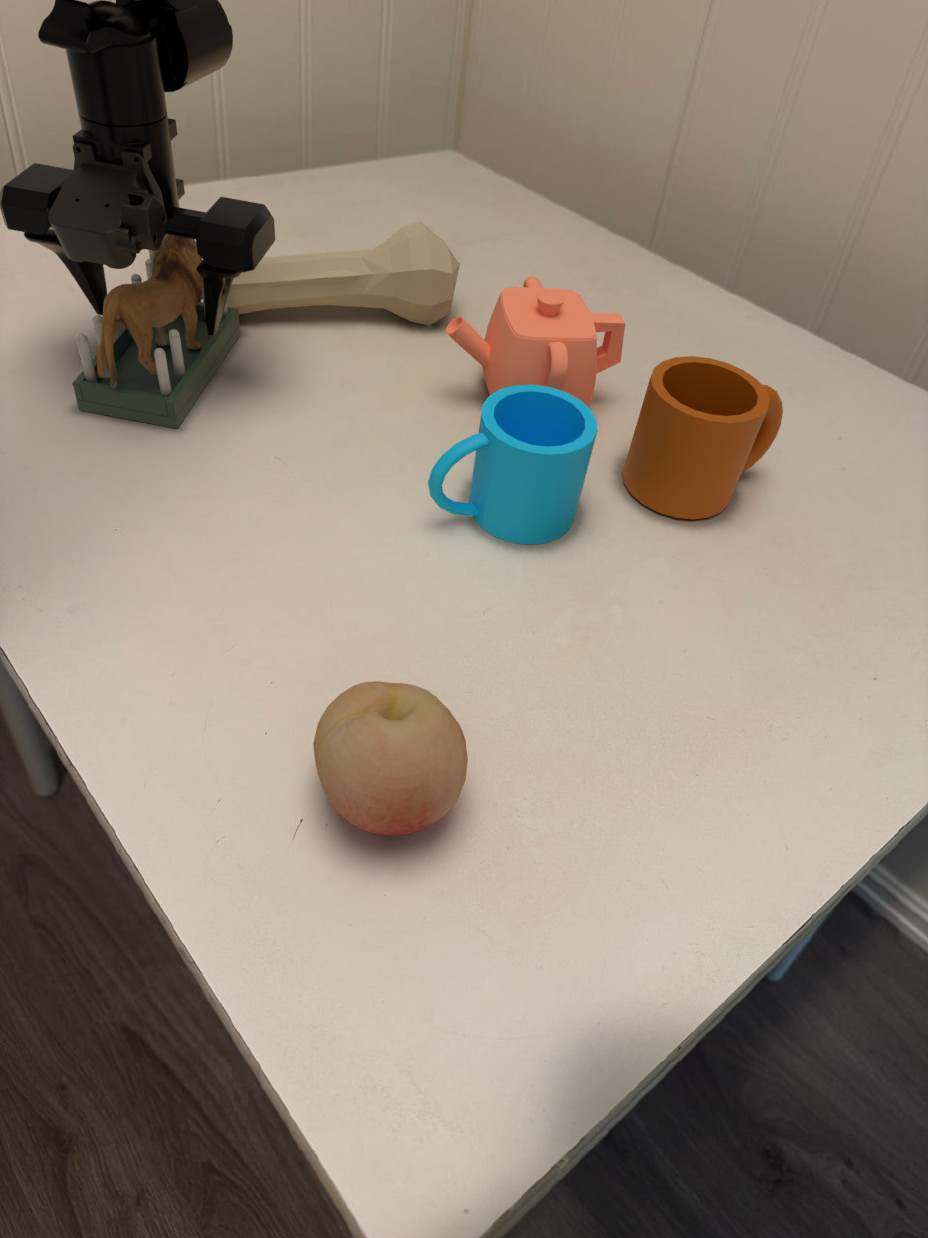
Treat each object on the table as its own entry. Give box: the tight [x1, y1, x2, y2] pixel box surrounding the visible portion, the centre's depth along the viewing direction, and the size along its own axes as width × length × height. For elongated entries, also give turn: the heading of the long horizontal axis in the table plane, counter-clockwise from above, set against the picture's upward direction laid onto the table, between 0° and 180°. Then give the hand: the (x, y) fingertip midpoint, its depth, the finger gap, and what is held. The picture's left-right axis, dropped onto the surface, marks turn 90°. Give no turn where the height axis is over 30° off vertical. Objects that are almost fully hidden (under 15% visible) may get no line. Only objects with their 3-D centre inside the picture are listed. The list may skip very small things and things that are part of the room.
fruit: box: [312, 680, 469, 836], centre depth 46 cm, size 8×8×8 cm
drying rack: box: [72, 258, 241, 429], centre depth 72 cm, size 8×15×6 cm, turn 171°
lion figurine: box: [95, 234, 204, 388], centre depth 69 cm, size 15×5×9 cm, turn 171°
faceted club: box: [227, 220, 461, 327], centre depth 80 cm, size 9×8×25 cm
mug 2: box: [621, 355, 784, 520], centre depth 68 cm, size 9×12×9 cm
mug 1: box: [427, 385, 598, 546], centre depth 63 cm, size 12×8×8 cm
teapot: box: [445, 275, 626, 408], centre depth 73 cm, size 12×12×10 cm
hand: (157, 322), depth 71 cm, fingers open, 9 cm apart
